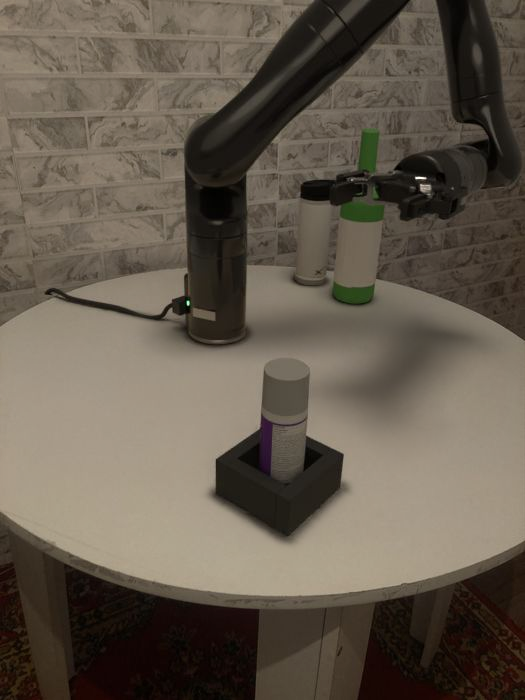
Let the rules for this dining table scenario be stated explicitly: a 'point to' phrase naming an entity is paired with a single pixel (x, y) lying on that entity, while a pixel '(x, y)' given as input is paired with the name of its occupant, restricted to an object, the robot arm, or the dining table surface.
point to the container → (284, 418)
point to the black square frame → (278, 483)
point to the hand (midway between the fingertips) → (367, 203)
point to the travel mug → (313, 232)
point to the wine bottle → (359, 236)
